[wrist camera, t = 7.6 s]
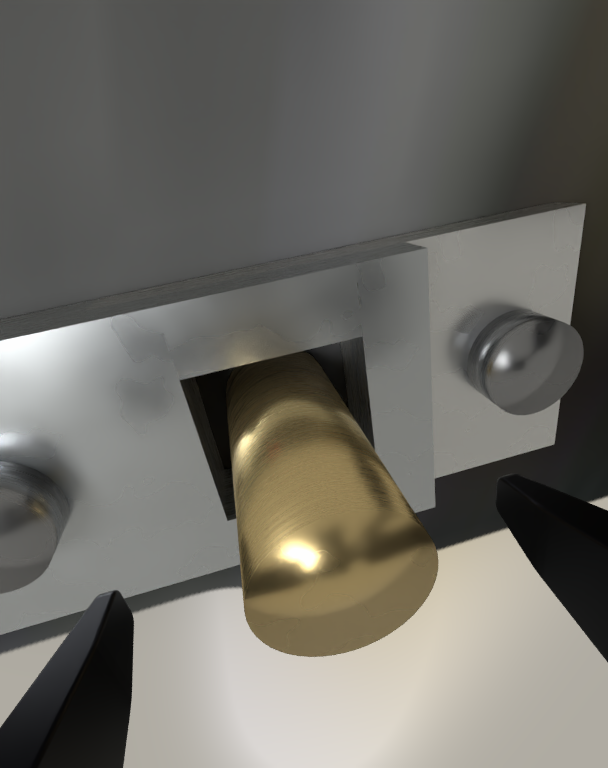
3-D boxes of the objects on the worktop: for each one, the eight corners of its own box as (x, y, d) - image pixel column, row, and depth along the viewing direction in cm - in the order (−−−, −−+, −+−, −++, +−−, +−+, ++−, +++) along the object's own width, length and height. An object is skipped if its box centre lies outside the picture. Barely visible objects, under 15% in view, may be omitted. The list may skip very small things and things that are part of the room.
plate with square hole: (553, 202, 15) (675, 206, 11) (531, 427, 20) (612, 487, 16) (-120, 344, 13) (-271, 415, 9) (31, 566, 17) (-22, 679, 13)
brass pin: (318, 334, 16) (436, 487, 8) (333, 423, 17) (439, 621, 9) (213, 358, 15) (220, 549, 7) (239, 447, 17) (268, 678, 9)
